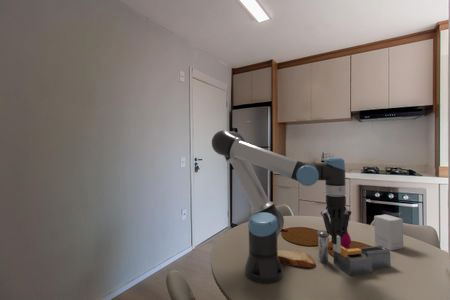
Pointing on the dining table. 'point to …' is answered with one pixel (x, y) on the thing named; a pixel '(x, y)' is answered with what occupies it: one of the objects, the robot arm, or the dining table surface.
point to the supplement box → (388, 232)
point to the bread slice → (296, 258)
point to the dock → (363, 260)
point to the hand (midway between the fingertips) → (337, 251)
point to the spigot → (323, 246)
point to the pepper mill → (346, 241)
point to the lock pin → (350, 251)
